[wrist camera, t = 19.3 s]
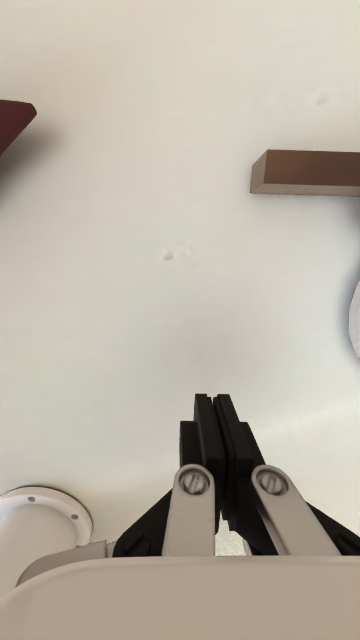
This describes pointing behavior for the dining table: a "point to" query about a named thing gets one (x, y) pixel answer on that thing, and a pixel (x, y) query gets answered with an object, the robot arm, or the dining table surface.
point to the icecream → (13, 120)
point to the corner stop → (307, 173)
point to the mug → (355, 320)
